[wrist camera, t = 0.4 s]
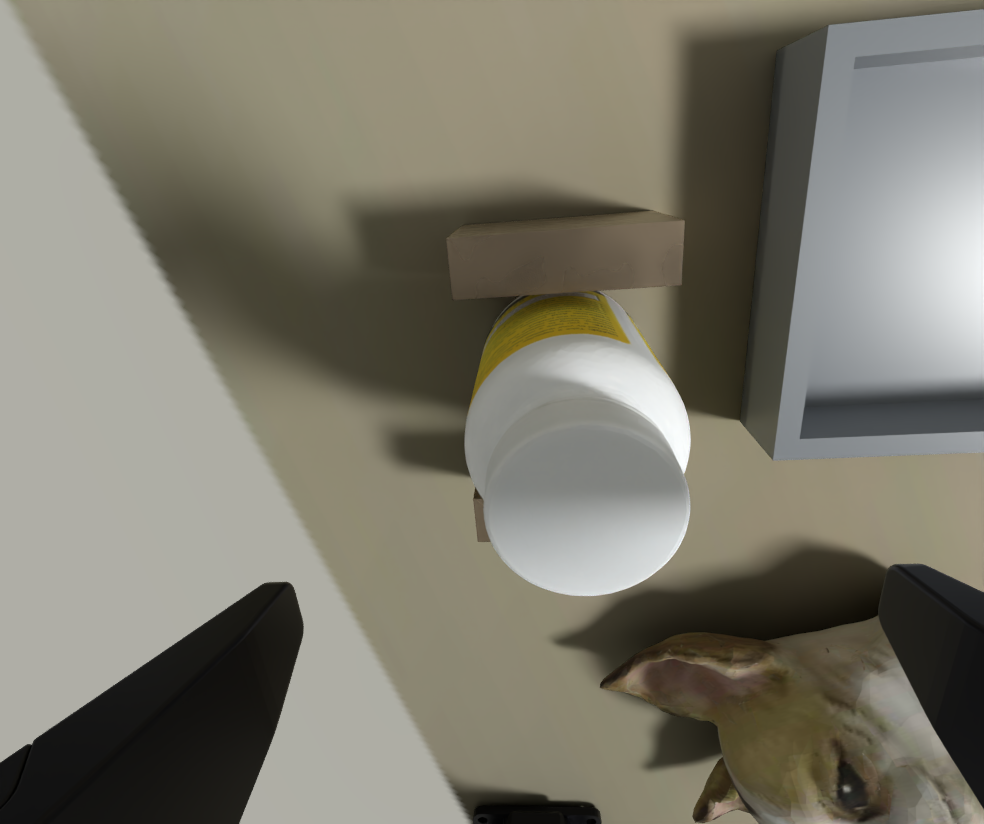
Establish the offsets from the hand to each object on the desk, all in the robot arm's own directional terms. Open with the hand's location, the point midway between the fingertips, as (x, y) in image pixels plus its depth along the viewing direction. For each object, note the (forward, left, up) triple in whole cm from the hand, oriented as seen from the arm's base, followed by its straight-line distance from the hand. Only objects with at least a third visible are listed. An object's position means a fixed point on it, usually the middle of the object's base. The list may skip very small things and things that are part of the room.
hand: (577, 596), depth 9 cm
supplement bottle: (0, 0, -12) cm, 12 cm away
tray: (+3, -12, -12) cm, 18 cm away
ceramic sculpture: (-14, -10, -13) cm, 21 cm away
